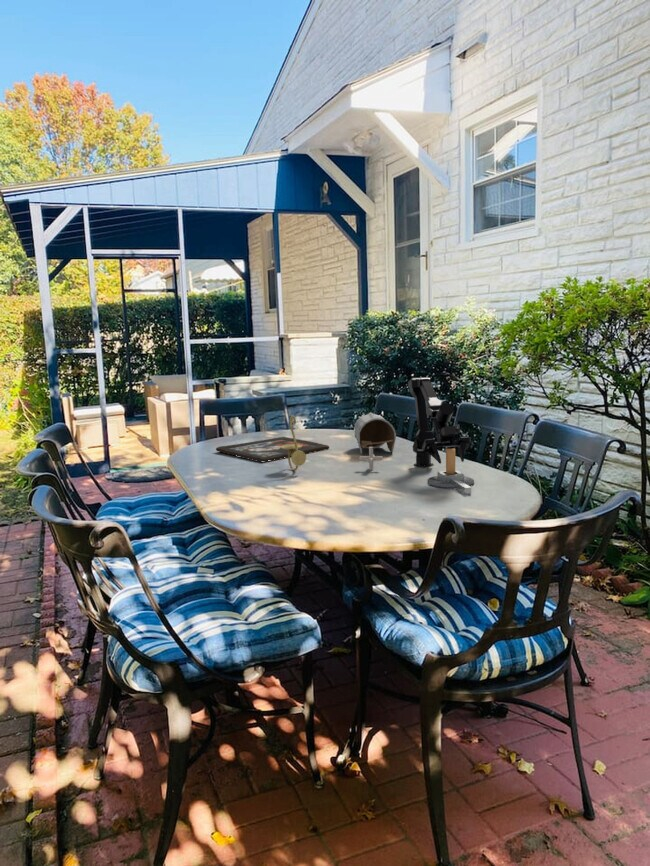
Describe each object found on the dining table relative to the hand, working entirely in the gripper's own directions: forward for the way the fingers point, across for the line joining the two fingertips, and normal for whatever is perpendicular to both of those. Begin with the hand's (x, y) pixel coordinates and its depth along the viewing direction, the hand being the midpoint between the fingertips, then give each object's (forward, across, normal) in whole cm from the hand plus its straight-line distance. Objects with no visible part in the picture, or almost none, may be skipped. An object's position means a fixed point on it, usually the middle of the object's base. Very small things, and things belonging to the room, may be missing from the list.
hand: (451, 462), depth 252 cm
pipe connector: (-17, -24, +30) cm, 42 cm away
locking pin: (+4, 0, +6) cm, 8 cm away
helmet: (-46, -13, +59) cm, 76 cm away
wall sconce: (-23, -57, +36) cm, 71 cm away
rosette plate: (+8, 0, +4) cm, 9 cm away
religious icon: (-57, -63, +71) cm, 111 cm away
